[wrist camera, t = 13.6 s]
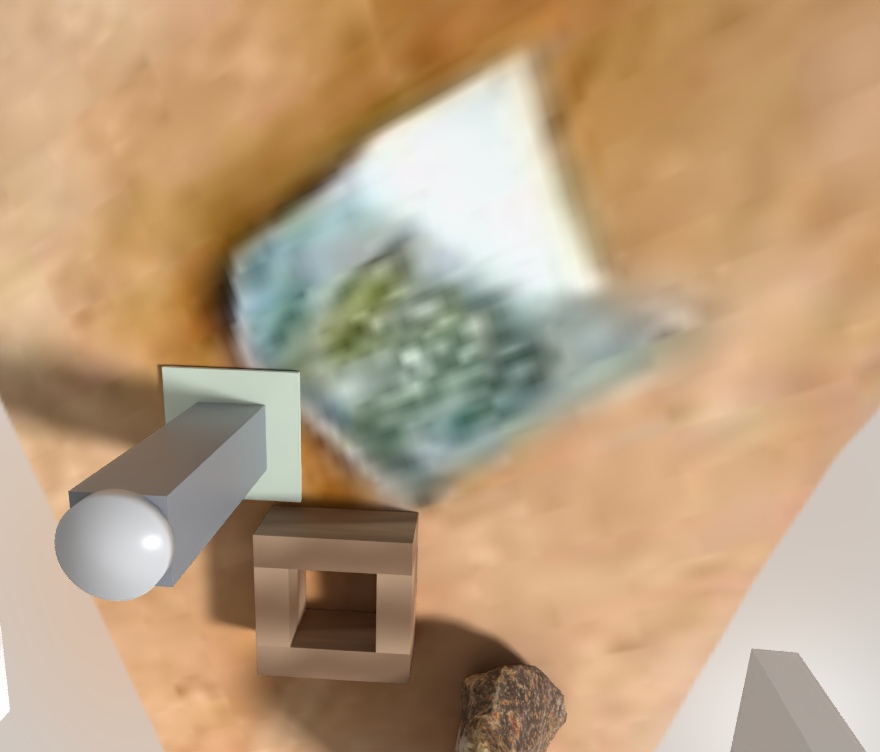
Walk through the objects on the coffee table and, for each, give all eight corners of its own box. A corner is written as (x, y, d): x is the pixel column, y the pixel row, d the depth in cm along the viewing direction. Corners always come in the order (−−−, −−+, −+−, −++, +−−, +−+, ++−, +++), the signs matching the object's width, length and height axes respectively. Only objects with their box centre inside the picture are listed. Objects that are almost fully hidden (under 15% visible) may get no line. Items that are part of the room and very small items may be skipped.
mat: (164, 365, 46) (161, 367, 46) (299, 371, 46) (298, 373, 45) (172, 493, 48) (169, 495, 48) (301, 499, 48) (300, 502, 47)
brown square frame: (273, 505, 48) (252, 534, 43) (418, 512, 47) (412, 543, 43) (276, 634, 50) (257, 674, 46) (414, 642, 50) (409, 684, 45)
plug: (193, 398, 46) (49, 494, 30) (268, 401, 46) (162, 500, 30) (197, 469, 47) (60, 597, 32) (270, 473, 47) (169, 603, 31)
